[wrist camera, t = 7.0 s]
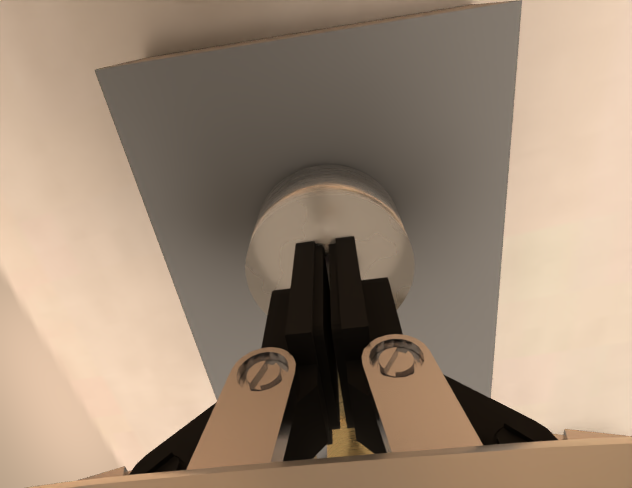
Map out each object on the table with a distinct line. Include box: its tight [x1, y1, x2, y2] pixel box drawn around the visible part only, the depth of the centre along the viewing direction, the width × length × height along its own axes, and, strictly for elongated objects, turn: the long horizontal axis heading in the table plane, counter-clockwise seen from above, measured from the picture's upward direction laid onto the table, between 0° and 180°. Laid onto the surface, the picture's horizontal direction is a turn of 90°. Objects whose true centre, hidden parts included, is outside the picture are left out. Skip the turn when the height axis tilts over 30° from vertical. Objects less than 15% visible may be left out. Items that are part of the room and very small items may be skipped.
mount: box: [95, 0, 522, 459], centre depth 19 cm, size 26×12×4 cm, turn 8°
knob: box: [245, 164, 415, 315], centre depth 15 cm, size 5×5×6 cm
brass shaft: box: [327, 375, 374, 458], centre depth 15 cm, size 3×3×6 cm
